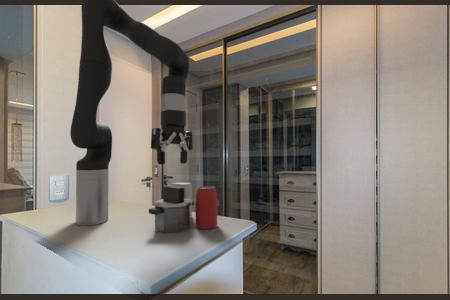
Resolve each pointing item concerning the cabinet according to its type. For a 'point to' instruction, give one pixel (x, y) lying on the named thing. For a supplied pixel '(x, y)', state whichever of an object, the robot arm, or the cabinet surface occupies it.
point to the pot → (171, 219)
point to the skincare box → (186, 191)
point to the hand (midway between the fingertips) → (172, 163)
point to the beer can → (206, 207)
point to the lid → (173, 198)
